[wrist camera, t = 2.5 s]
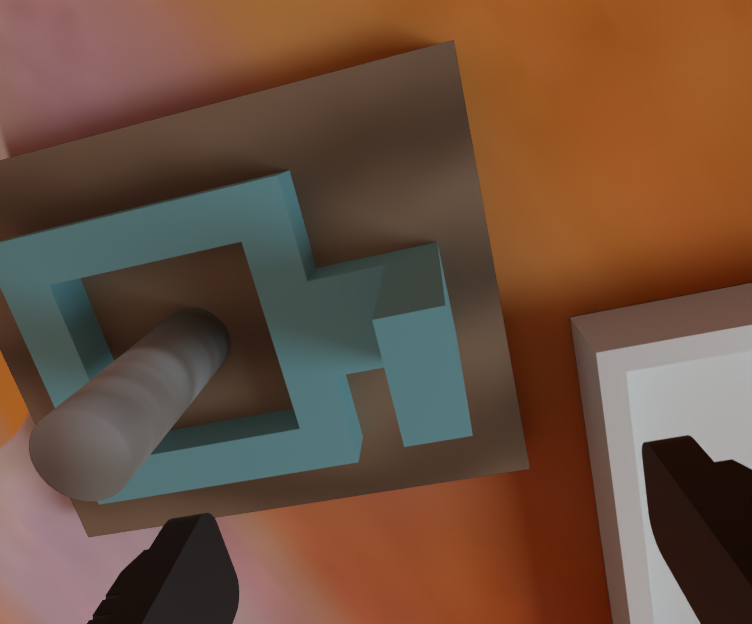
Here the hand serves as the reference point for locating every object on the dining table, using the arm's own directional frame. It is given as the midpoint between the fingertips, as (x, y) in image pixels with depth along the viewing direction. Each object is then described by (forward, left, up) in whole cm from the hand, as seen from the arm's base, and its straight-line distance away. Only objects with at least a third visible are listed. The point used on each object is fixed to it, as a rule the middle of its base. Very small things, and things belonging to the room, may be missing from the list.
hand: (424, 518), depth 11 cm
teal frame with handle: (0, -7, -14) cm, 16 cm away
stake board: (0, -8, -16) cm, 18 cm away
